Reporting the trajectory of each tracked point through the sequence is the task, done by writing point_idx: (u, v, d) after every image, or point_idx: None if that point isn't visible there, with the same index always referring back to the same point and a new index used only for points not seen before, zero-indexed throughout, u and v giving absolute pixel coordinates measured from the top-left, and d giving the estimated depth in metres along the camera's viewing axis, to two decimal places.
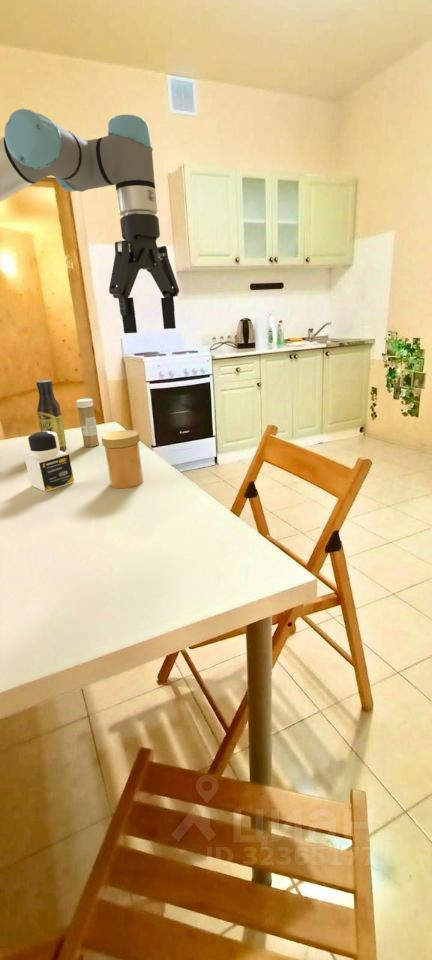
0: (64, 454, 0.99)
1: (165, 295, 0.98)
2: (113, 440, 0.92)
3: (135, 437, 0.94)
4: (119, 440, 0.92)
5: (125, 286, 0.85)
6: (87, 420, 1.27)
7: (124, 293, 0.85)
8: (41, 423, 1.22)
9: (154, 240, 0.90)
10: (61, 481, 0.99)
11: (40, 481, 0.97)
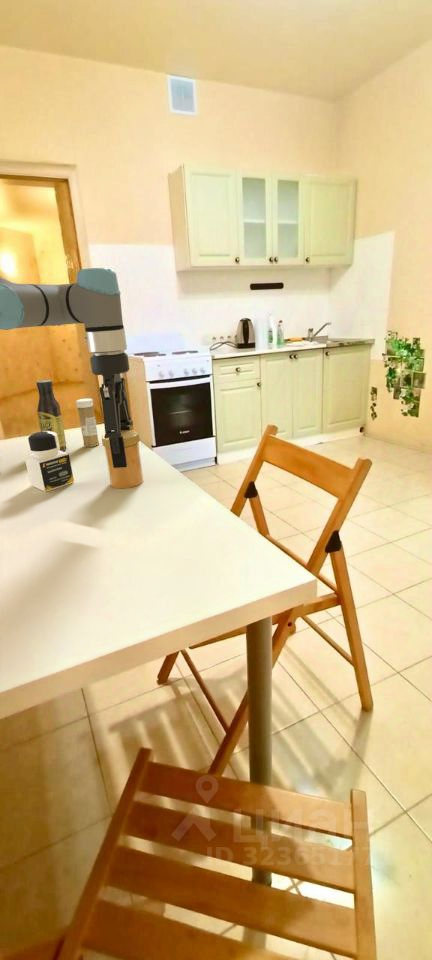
0: (64, 454, 0.99)
1: None
2: None
3: (135, 437, 0.94)
4: None
5: None
6: (87, 420, 1.27)
7: None
8: (41, 423, 1.22)
9: (103, 376, 0.89)
10: (61, 481, 0.99)
11: (40, 481, 0.97)
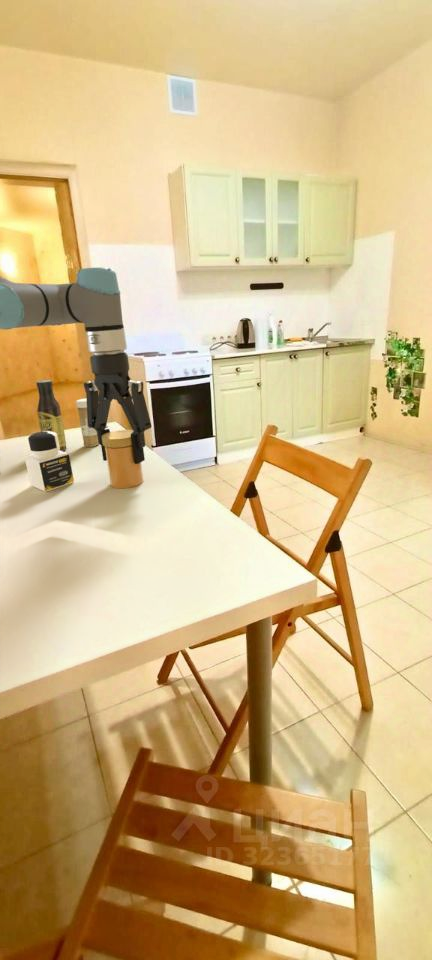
0: (64, 454, 0.99)
1: None
2: None
3: None
4: None
5: None
6: None
7: None
8: (41, 423, 1.22)
9: (119, 374, 0.89)
10: (61, 481, 0.99)
11: (40, 481, 0.97)
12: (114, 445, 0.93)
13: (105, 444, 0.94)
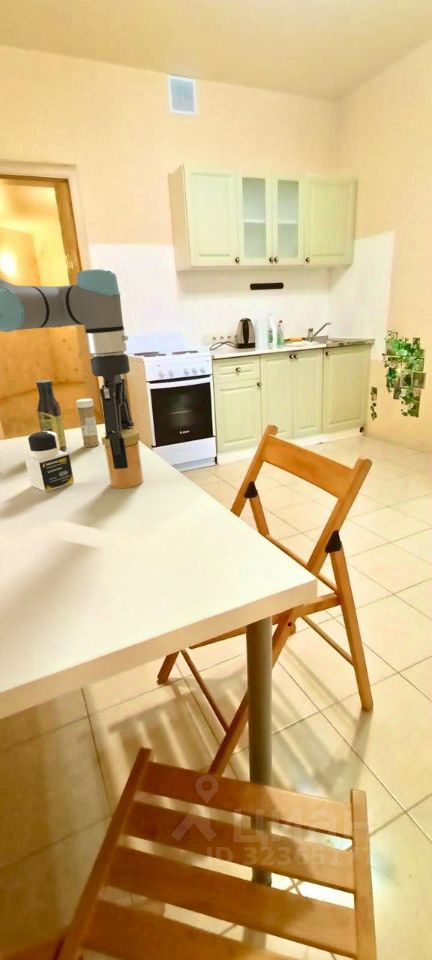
0: (64, 454, 0.99)
1: (121, 426, 1.00)
2: None
3: None
4: None
5: None
6: (87, 420, 1.27)
7: (119, 437, 0.90)
8: (41, 423, 1.22)
9: None
10: (61, 481, 0.99)
11: (40, 481, 0.97)
12: (138, 437, 0.97)
13: (137, 439, 0.95)
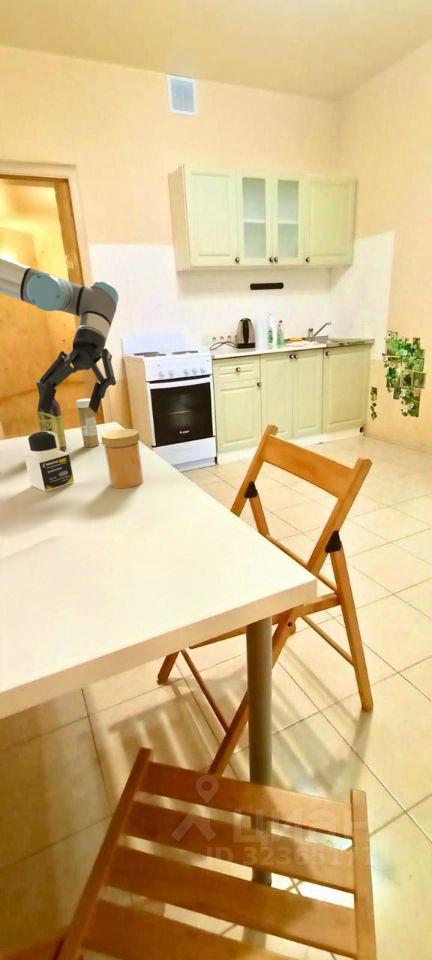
0: (64, 454, 0.99)
1: (49, 384, 1.10)
2: None
3: None
4: None
5: None
6: (87, 420, 1.27)
7: None
8: (41, 423, 1.22)
9: None
10: (61, 481, 0.99)
11: (40, 481, 0.97)
12: (138, 437, 0.97)
13: (137, 439, 0.95)
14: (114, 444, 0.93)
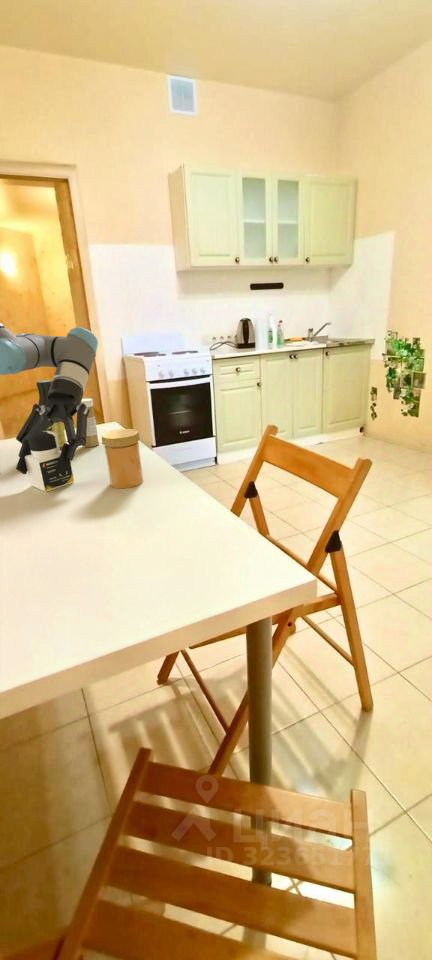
0: None
1: (27, 442, 1.01)
2: None
3: None
4: None
5: None
6: (87, 420, 1.27)
7: (77, 446, 0.99)
8: None
9: None
10: (61, 481, 0.99)
11: (40, 481, 0.97)
12: (138, 437, 0.97)
13: (137, 439, 0.95)
14: (114, 444, 0.93)
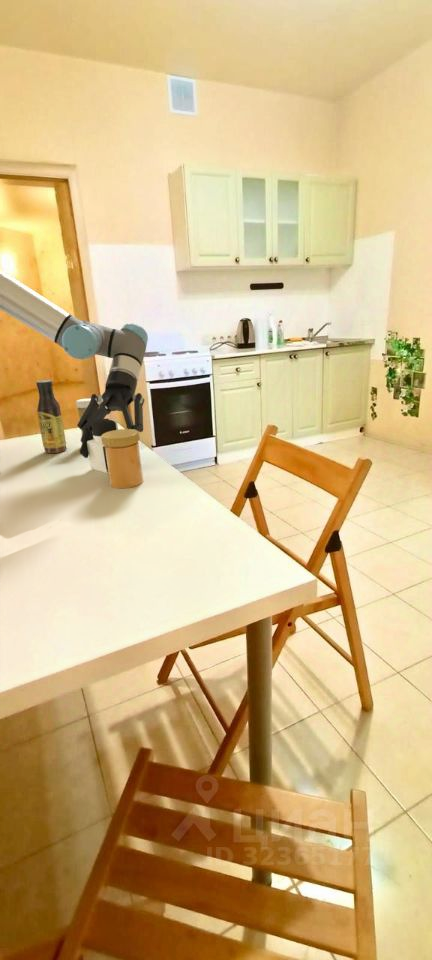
0: None
1: None
2: None
3: None
4: None
5: None
6: None
7: None
8: (41, 423, 1.22)
9: None
10: None
11: (102, 464, 1.06)
12: (138, 437, 0.97)
13: (137, 439, 0.95)
14: (114, 444, 0.93)
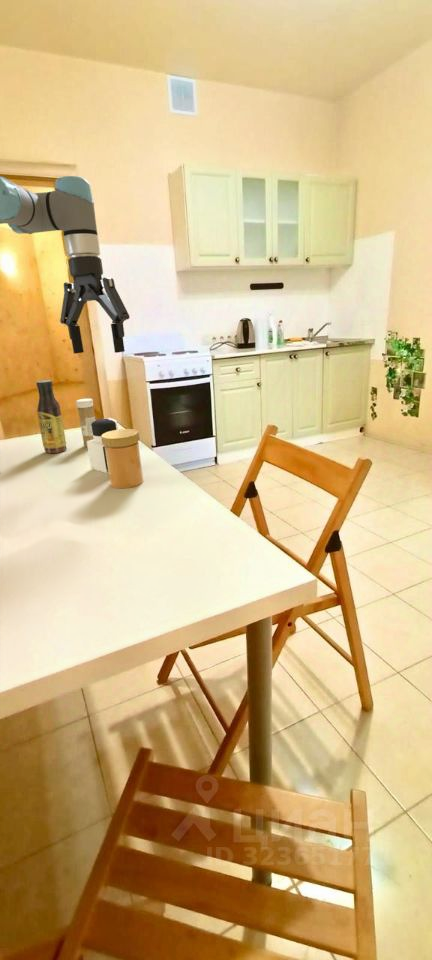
0: None
1: (71, 324, 1.11)
2: None
3: None
4: None
5: None
6: (87, 420, 1.27)
7: (123, 319, 1.05)
8: (41, 423, 1.22)
9: None
10: None
11: (102, 464, 1.06)
12: (138, 437, 0.97)
13: (137, 439, 0.95)
14: (114, 444, 0.93)
